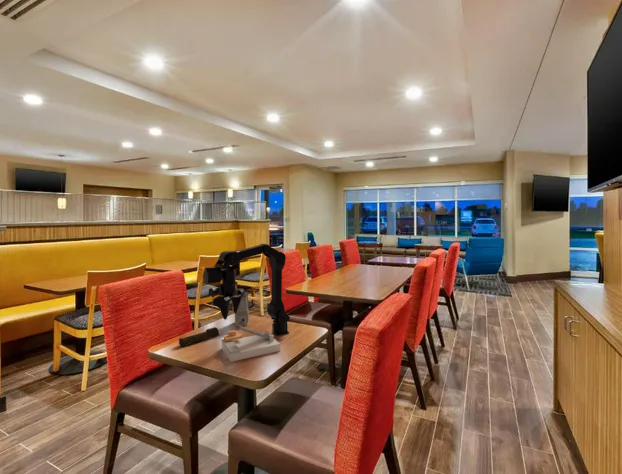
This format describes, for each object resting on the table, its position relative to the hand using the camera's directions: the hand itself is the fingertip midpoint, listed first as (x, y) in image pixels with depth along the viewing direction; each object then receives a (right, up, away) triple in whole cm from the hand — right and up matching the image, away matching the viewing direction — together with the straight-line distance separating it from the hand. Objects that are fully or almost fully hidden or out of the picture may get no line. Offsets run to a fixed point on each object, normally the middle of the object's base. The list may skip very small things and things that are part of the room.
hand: (230, 315), depth 144 cm
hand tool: (-16, -14, +9) cm, 23 cm away
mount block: (+9, -14, -3) cm, 17 cm away
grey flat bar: (+11, -7, -2) cm, 14 cm away
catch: (+1, -9, -1) cm, 10 cm away
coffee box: (-2, -12, +33) cm, 35 cm away
